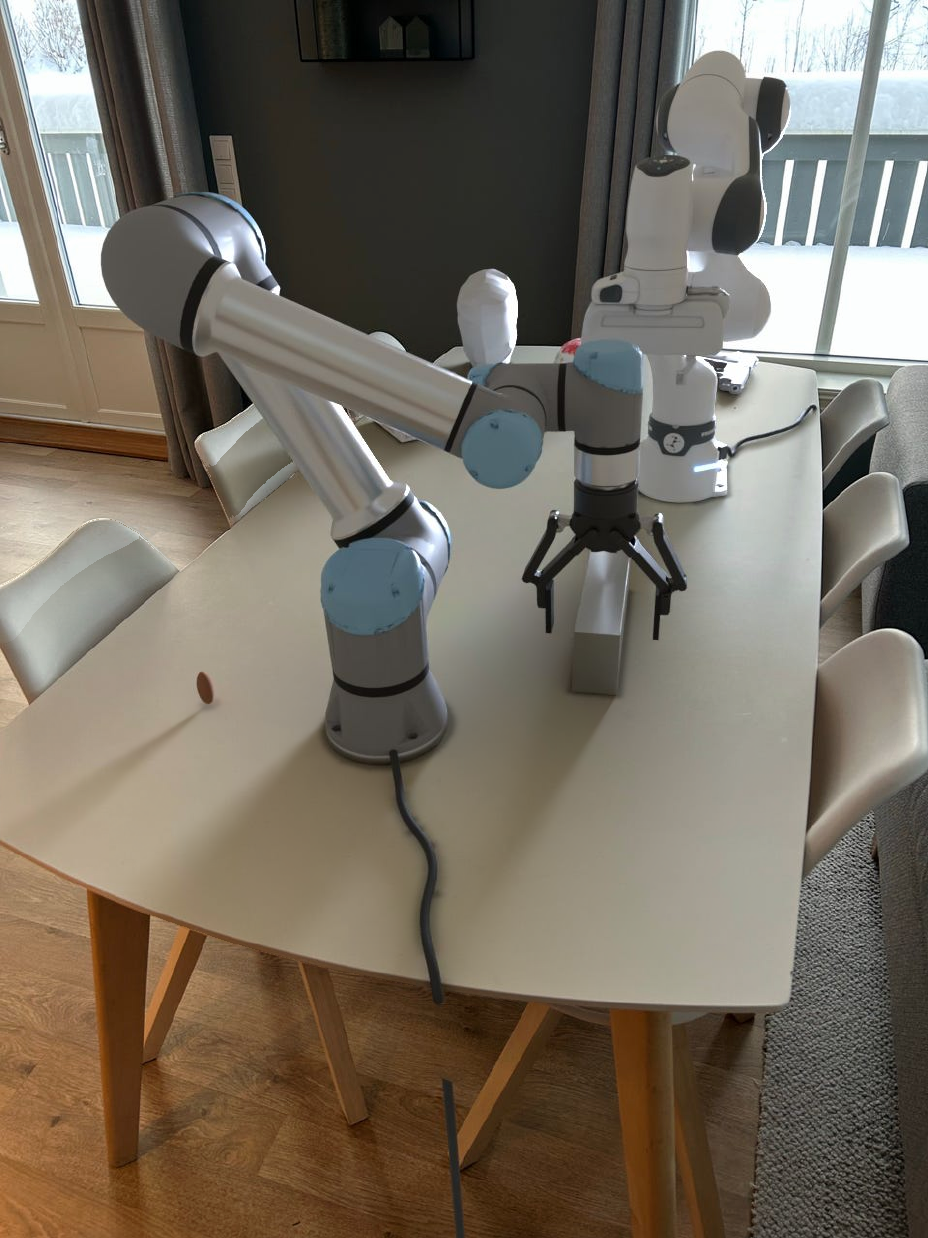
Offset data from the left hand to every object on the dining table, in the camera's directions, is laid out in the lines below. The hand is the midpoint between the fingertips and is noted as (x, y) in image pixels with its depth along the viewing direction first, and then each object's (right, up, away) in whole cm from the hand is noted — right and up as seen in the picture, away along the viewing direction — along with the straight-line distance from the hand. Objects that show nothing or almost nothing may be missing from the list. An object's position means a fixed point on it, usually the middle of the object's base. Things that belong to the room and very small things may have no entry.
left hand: (602, 631), depth 117 cm
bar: (+2, -1, +12) cm, 12 cm away
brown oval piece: (-51, -10, +2) cm, 52 cm away
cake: (+16, +64, +117) cm, 134 cm away
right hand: (+10, +37, +18) cm, 42 cm away
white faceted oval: (-11, +70, +129) cm, 147 cm away
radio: (-28, +46, +91) cm, 105 cm away
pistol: (+45, +63, +112) cm, 136 cm away
